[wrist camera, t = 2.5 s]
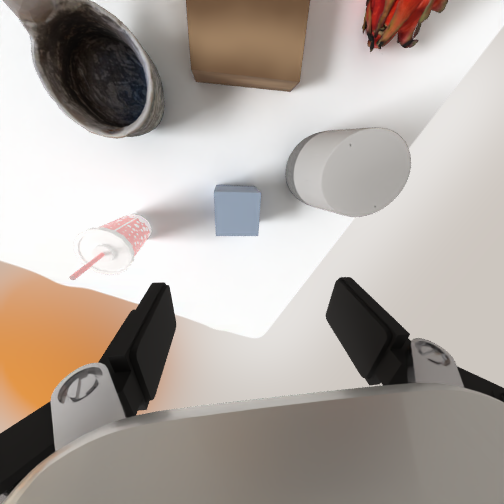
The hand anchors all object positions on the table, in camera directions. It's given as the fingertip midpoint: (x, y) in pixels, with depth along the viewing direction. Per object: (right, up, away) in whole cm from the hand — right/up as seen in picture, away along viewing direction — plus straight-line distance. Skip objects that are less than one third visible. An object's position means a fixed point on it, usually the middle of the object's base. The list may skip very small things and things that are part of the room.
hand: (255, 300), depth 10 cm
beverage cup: (-19, +7, +20) cm, 28 cm away
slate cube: (-3, +10, +20) cm, 23 cm away
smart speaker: (+9, +16, +19) cm, 26 cm away
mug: (-16, +23, +12) cm, 30 cm away
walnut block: (-1, +29, +11) cm, 31 cm away
